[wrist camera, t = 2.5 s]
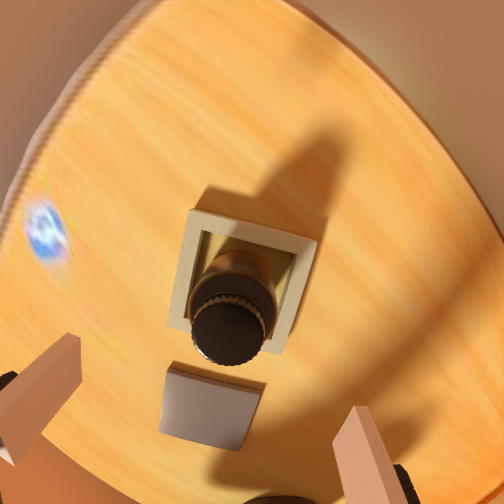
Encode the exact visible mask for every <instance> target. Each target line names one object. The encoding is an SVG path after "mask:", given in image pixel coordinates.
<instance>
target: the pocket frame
mask: <svg viewBox="0 0 504 504" xmlns="http://www.w3.org/2000/svg"><path fill="white" fill-rule="evenodd" d="M204 230H205V231H209V232H213V233H217V234H221V235H224V236H228V237H232V238H236V239H240V240H244V241H248V242H252V243H256V244H260V245H264V246H268V247H272V248H275V249H279V250H283V251H287V252H291V253H294V256H293V260H292V263H291V266H290V270H289V273H288V277H287V280H286V283H285V287H284V290H283V293H282V297H281V300H280V303H279V307H278V315H277V322H276V325H275V328H274V330H273V332H272V334H271V335H270V337H269V338H268V339H267V340H266V341H265V342H264V344H263V345H262V346H261V350H260V351H264V352H268V353H273V354H278V355H282V353H283V350H284V347H285V344H286V341H287V338H288V335H289V333H290V330H291V327H292V324H293V321H294V318H295V315H296V312H297V309H298V305H299V302H300V299H301V296H302V293H303V290H304V287H305V283H306V280H307V277H308V274H309V271H310V267H311V264H312V261H313V257H314V254H315V251H316V247H317V244H318V242H317V241H316V240H315V239H312V238H308V237H305V236H301V235H297V234H293V233H290V232H286V231H282V230H278V229H274V228H271V227H267V226H263V225H259V224H255V223H251V222H247V221H243V220H239V219H235V218H231V217H227V216H223V215H219V214H215V213H211V212H207V211H203V210H199V209H195V208H193V209H190V210H189V214H188V218H187V223H186V227H185V232H184V237H183V241H182V246H181V251H180V256H179V261H178V267H177V272H176V277H175V283H174V288H173V294H172V299H171V305H170V311H169V317H168V323H167V327H170V328H173V329H177V330H180V331H184V332H187V333H191V329H192V327H191V324H190V322H189V317H188V303H189V299H190V296H191V291H192V286H193V281H194V276H195V272H196V267H197V262H198V257H199V253H200V248H201V244H202V239H203V235H204ZM191 334H192V333H191Z"/></svg>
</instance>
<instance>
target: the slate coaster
mask: <svg viewBox="0 0 504 504" xmlns="http://www.w3.org/2000/svg"><path fill="white" fill-rule="evenodd" d="M259 398H260V390H257V389H252V388H247V387H242V386H238V385H233V384H229V383H225V382H221V381H217V380H213V379H209V378H205V377H201V376H197V375H193V374H190V373H186V372H183V371H179V370H176V369H172V368H168V370H167V373H166V380H165V387H164V395H163V403H162V411H161V419H160V428H159V432H161V433H164V434H167V435H171V436H174V437H178V438H181V439H185V440H189V441H192V442H196V443H200V444H205V445H209V446H213V447H218V448H222V449H227V450H232V451H238V452H239V450H240V448H241V445H242V443H243V440H244V437H245V435H246V432H247V430H248V427H249V424H250V422H251V419H252V417H253V414H254V411H255V409H256V406H257V403H258V400H259Z"/></svg>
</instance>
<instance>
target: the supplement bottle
mask: <svg viewBox="0 0 504 504" xmlns="http://www.w3.org/2000/svg"><path fill="white" fill-rule="evenodd" d="M277 315H278V308H277V301H276V294H275V288H274V282H273V277H272V273H271V271H270V269H269V267H268V266H267V264H266V263H265V262H264V261H263V260H262V259H261V258H260V257H259V256H257V255H255V254H253V253H251V252H248V251H243V250H233V251H229V252H226V253H223V254H221V255H220V256H218V257H217V258H216V259H215V260H214V261H213V262H212V263H211V264H210V265H209V267H208V268H207V270H206V271H205V273H204V274H203V276H202V277H201V279H200V280H199V282H198V283H197V285H196V286H195V288H194V289H193V291H192V293H191V296H190V299H189V303H188V317H189V322H190V324H191V327H192V329H191V333H192V340H193V341H194V345H195V346H196V348H197V350H198V351H199V352H200V353H201V355H202V356H204V357H205V358H206V359H207V360H210V361H211V362H213V363H217V364H218V365H224V366H229V365H230V366H235V365H241V364H242V363H246V362H248V361H249V360H252V359H253V357H254V356H256V355H257V353H258V352H259V351H260V350H261V346H262V345H263V344H264V342H265V341H266V340H267V339H268V338H269V337H270V335H271V334H272V332H273V330H274V328H275V325H276V322H277Z"/></svg>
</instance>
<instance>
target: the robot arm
mask: <svg viewBox="0 0 504 504" xmlns="http://www.w3.org/2000/svg"><path fill="white" fill-rule="evenodd" d="M81 383H82V370H81V345H80V337H77V336H75V335H72V334H70V333H68V332H67V333H66V334H65V335H64V336H63V337H61V338H60V339H59V340H58V341H57V342H56V343H54V344H53V345H52V346H51V347H50V348H49V349H47V350H46V351H45V352H44V353H43V354H42V355H40V356H39V357H38V358H37V359H36V360H35V361H34V362H32V363H31V364H30V365H29V366H28V367H27V368H26V369H24V370H23V371H22V372H21V373H20V374H17V373H16V372H14V371H11V372H8V373H6V374H3V375H2V376H1V377H0V456H1V457H2V458H4V459H5V460H6V461H8V462H9V463H11V464H12V465H14V466H16V465H17V463H18V462H19V461H20V459H21V458H22V457H23V455H24V454H25V453H26V451H27V450H28V449H29V447H30V446H31V445H32V444H33V442H34V441H35V440H36V438H37V437H38V436H39V435H40V433H41V432H42V431H43V429H44V428H45V427H46V426H47V424H48V423H49V422H50V421H51V419H52V418H53V417H54V416H55V414H56V413H57V412H58V411H59V409H60V408H61V407H62V406H63V404H64V403H65V402H66V401H67V400H68V398H69V397H70V396H71V395H72V393H73V392H74V391H75V390H76V389H77V387H78V386H79V385H80V384H81ZM332 445H333V449H334V453H335V457H336V461H337V465H338V469H339V474H340V478H341V482H342V486H343V491H344V495H345V499H346V504H421V503H420V501H419V499H418V496H417V494H416V491H415V489H413V488H414V487H413V484H412V482H411V480H410V478H409V475H408V473H407V471H406V470H405V469H404V468H403V467H402V466H401V465H400V464H398V465H393V464H392V462H391V460H390V457H389V455H388V452H387V450H386V448H385V445H384V443H383V440H382V438H381V436H380V433H379V431H378V429H377V426H376V424H375V422H374V420H373V417H372V415H371V413H370V410H369V408H368V406H358V405H354V406H353V408H352V410H351V411H350V413H349V415H348V417H347V419H346V420H345V422H344V424H343V425H342V427H341V429H340V431H339V432H338V434H337V436H336V437H335V439H334V440H333V442H332ZM0 504H3V503H2V498H1V493H0ZM245 504H315V503H314V502H312V501H310V500H307V499H303V498H298V497H286V496H280V497H267V498H261V499H256V500H253V501H250V502H247V503H245Z"/></svg>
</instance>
